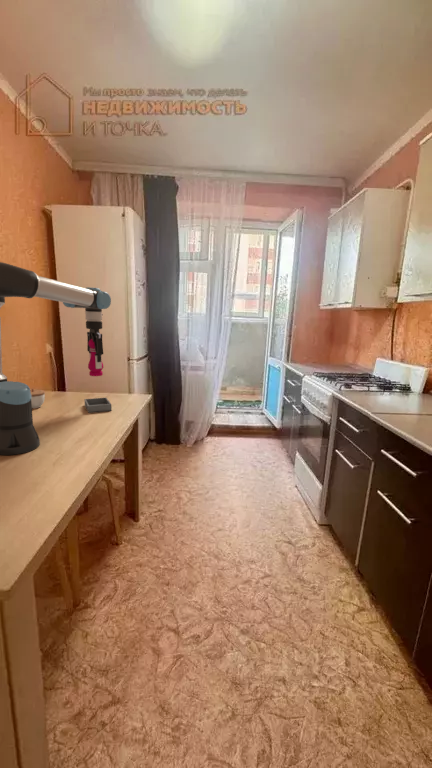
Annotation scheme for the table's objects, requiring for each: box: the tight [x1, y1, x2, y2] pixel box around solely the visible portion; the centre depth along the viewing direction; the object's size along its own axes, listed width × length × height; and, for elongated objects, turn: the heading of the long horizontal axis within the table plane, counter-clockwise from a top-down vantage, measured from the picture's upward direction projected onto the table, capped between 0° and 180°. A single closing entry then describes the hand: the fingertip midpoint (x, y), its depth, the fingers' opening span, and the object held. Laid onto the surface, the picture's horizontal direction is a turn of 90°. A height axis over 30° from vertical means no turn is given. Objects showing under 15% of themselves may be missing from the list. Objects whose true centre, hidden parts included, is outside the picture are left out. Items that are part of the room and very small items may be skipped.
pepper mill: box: [87, 339, 104, 377], centre depth 170 cm, size 7×7×20 cm
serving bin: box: [84, 397, 113, 414], centre depth 176 cm, size 14×11×4 cm
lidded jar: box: [30, 388, 46, 410], centre depth 173 cm, size 11×11×9 cm
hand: (95, 367), depth 171 cm, fingers closed on pepper mill, 7 cm apart
